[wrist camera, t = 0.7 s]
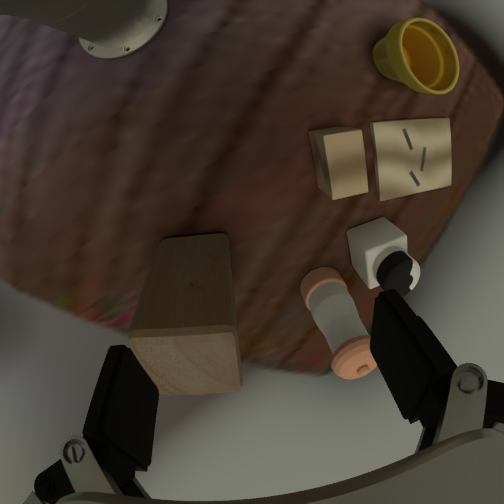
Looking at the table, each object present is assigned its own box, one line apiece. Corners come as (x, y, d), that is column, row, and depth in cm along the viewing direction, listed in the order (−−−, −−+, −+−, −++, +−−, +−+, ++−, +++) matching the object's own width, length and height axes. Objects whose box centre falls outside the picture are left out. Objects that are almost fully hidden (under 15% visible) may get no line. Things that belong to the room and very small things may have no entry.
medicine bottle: (351, 265, 45) (383, 311, 34) (345, 229, 41) (382, 271, 31) (387, 251, 44) (424, 291, 34) (383, 215, 41) (427, 251, 31)
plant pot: (408, 104, 32) (451, 110, 24) (352, 72, 30) (391, 65, 21) (422, 52, 28) (465, 48, 19) (369, 17, 25) (408, 1, 17)
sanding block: (307, 131, 34) (323, 135, 29) (341, 125, 34) (361, 129, 29) (317, 186, 38) (332, 200, 33) (348, 179, 38) (368, 192, 32)
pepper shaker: (313, 308, 48) (349, 396, 32) (291, 284, 45) (327, 378, 29) (347, 285, 47) (396, 368, 30) (328, 258, 44) (382, 345, 27)
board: (369, 122, 34) (373, 123, 33) (445, 117, 33) (449, 118, 32) (377, 199, 39) (380, 201, 39) (447, 183, 39) (451, 185, 38)
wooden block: (228, 229, 39) (236, 331, 22) (233, 287, 44) (244, 394, 27) (159, 236, 39) (122, 337, 21) (172, 292, 44) (154, 398, 26)
